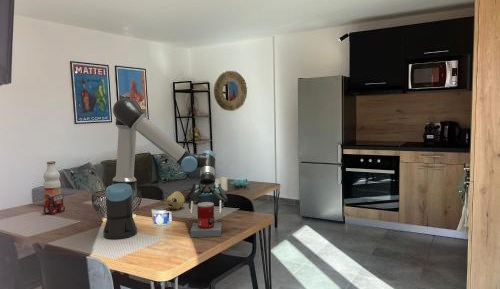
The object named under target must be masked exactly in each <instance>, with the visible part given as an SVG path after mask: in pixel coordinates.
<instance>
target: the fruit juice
mask: <svg viewBox="0 0 500 289" xmlns="http://www.w3.org/2000/svg"><path fill="white" fill-rule="evenodd" d="M56 163H57V162H56V161H47V162H46V166H47V167H46V170H45V172H44V173H43V180H44V182H43V196H44V198H43V199H44V203H45V202H46V200H48V197H49V196H51V197H52V196H55V195H59V194H62V185H61V181H60V178H61V174H60V172H59V171H58V170H57V167H56Z"/></svg>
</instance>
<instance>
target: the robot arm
mask: <svg viewBox="0 0 500 289" xmlns="http://www.w3.org/2000/svg"><path fill="white" fill-rule="evenodd" d="M112 113H113V115H114V118H115V126H116V127H117V130H118V132H117V147H116V149H117V150H116V165H115V167H116V169H115V170H116V171H115V176H114V177H113V178H112V181H111V182H112V184H111V185H109V186H107V187H106V189H105V193H104V194H105V195H104V196H105V208H106V209H105V211H106V212H105V213H106V221H105V223H104V224H105V225H104V228H103V231H102V232H103V234H102V235H103V238H105V239H107V240H121V239H126V238H130V237H133V236H135V235H137V233H138V227H137V224H136V222H135V219H134V216H133V214H134V213H133V202H134V201H135V200H136V198H137V196H138V188H137V178H136V177H135V160H136V158H135V157H136V142H137V133H138V134H139V135H141V136H143V138H145V139H146V140H147V141H149V142H150V143H151V144H152V145H153V146H155V147H156V148H158V149H159V150H160V151H161V152H162V153H164V154H165V155H166V156H167V157H168V158H170V159H171V160H172V161H174V162H175V163H176V164H177V167H181V168H182V170H183V171H184V172H186V173H191V172H193V171H195V170H196V169H200V171H199V172H200V173H199V174H200V175H199V184H195V183H193V184H192V188H191V189H190V190H189V192H188V194H187V195H186V197H184V201H185V203H188V209H189V210H190V217H191V216H193V214H194V202H195V200H197V199H198V198H199V197H200V196H202V194H205V195H206V194H212V195H213V196H214V197H215V198H217V199H218V200H219V216H222V209H223V208H224V207H225V205H224V204H225V202H228V196H227V194H226V193H225V191H224V190H223V188H222V185H221V183H218V184H215V183H216V178H215V177H216V154H215V152H214V151H212V150H210V149H209V150H208V149H206V150H203V151H201V153H191V152H188V151H187V150H186V149H184V147H182V146H181V145H180V144H178V142H176V141H175V140H174V139H173V138H172V137H170V136H168V135H167V134H166V133H165V132H164V131H163V130H162V129H160V127H158V126H156V124H154V123H153V122H152V121H151V120H149V119H148V118H147V117H146V114H145V112H143V110H142V106H141V105H140V103H138V101H136V100H134V99H131V98H125V97H124V98H120V99H118V100H117V101H116V102H114V104H113V107H112ZM197 189H198V190H197ZM216 189H217V190H218V191H216ZM196 190H197V191H196ZM195 191H196V192H195Z"/></svg>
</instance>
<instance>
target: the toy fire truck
mask: <svg viewBox="0 0 500 289" xmlns="http://www.w3.org/2000/svg"><path fill="white" fill-rule="evenodd" d="M64 197H65V196H64V194H63V193H61V194H59V195H55V196H52V197H51V196H49V197H48V200H46V202H45V201H44V205H43V210H42V212H43V213H44V214H50V215H56V214H57V213H63V212H65V209H66V207H65V206H64Z"/></svg>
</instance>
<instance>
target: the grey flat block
mask: <svg viewBox="0 0 500 289" xmlns="http://www.w3.org/2000/svg"><path fill="white" fill-rule="evenodd" d="M222 228H223V226H222V222H214V227H212V228H208V229H202V228H199V227H198V222H193V223H192V226H191V228H190V238H207V237H209V238H210V237H211V238H212V237H214V238H215V237H216V238H217V237H222Z"/></svg>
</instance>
